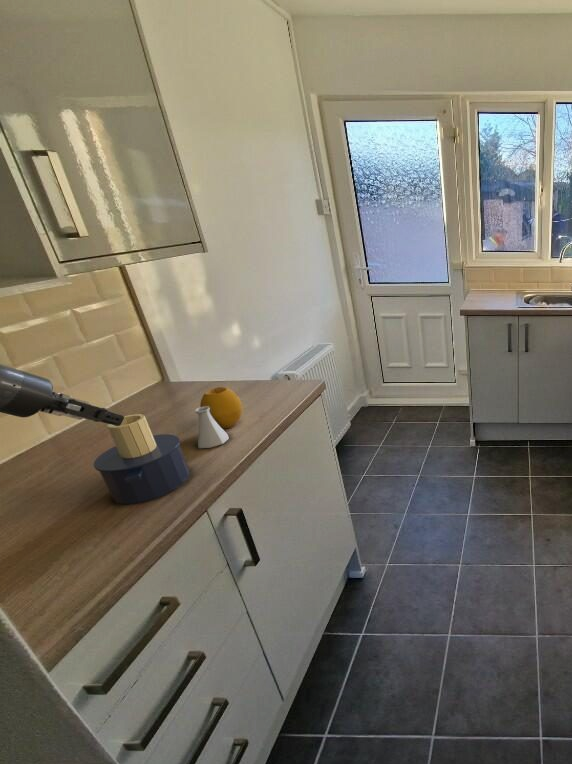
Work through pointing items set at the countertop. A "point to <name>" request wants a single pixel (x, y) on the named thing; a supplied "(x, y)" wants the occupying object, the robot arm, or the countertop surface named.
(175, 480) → the pot
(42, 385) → the robot arm
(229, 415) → the round orange vase
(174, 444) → the pot lid
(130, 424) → the pale yellow hollow cylinder
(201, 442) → the flask
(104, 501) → the countertop surface
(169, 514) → the countertop surface
